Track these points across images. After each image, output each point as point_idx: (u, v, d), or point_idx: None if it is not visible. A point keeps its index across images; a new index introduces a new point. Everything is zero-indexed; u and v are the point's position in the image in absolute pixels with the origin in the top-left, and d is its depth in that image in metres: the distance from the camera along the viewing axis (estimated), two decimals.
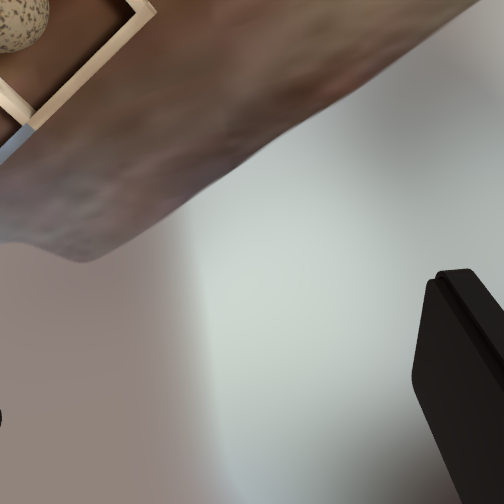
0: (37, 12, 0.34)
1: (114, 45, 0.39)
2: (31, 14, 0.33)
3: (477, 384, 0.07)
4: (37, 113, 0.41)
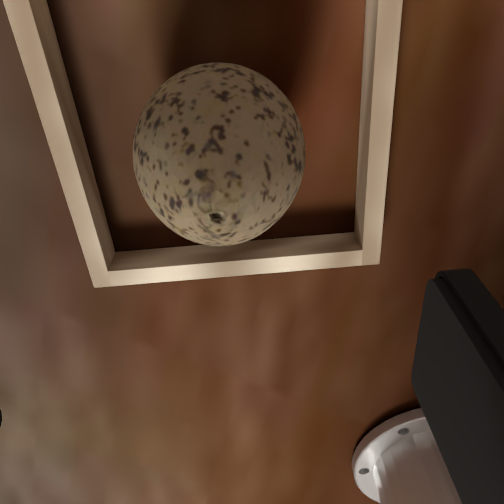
0: None
1: (82, 221, 0.24)
2: None
3: (477, 384, 0.07)
4: (30, 16, 0.19)
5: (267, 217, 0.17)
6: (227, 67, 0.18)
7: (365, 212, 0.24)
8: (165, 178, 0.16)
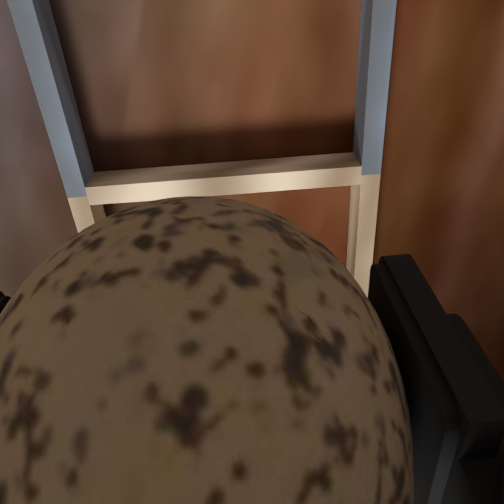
0: None
1: None
2: None
3: (404, 359, 0.08)
4: (91, 221, 0.24)
5: None
6: (206, 248, 0.06)
7: None
8: None
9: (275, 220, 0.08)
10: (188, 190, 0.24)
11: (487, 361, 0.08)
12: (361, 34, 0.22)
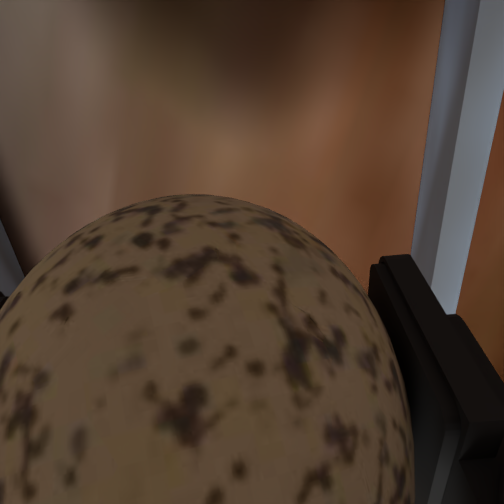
0: None
1: None
2: None
3: (404, 359, 0.08)
4: None
5: None
6: (206, 246, 0.06)
7: None
8: None
9: (275, 218, 0.08)
10: None
11: (487, 361, 0.08)
12: (422, 207, 0.15)
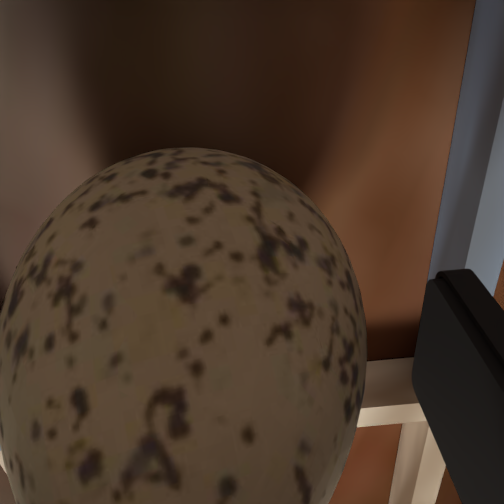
0: None
1: None
2: None
3: (477, 384, 0.07)
4: None
5: None
6: (199, 177, 0.08)
7: None
8: None
9: (256, 163, 0.09)
10: None
11: None
12: (443, 226, 0.14)
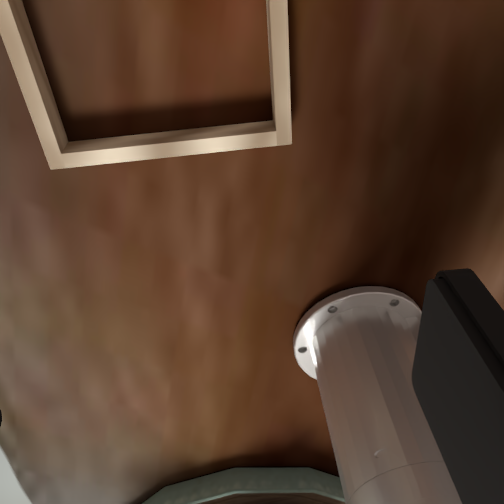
0: None
1: (34, 106, 0.28)
2: None
3: (477, 384, 0.07)
4: None
5: None
6: None
7: (274, 95, 0.29)
8: None
9: None
10: None
11: None
12: None
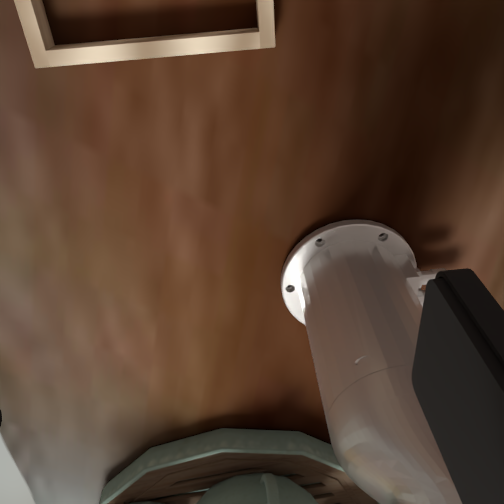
0: None
1: None
2: None
3: (477, 384, 0.07)
4: None
5: None
6: None
7: None
8: None
9: None
10: None
11: None
12: None
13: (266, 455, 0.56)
